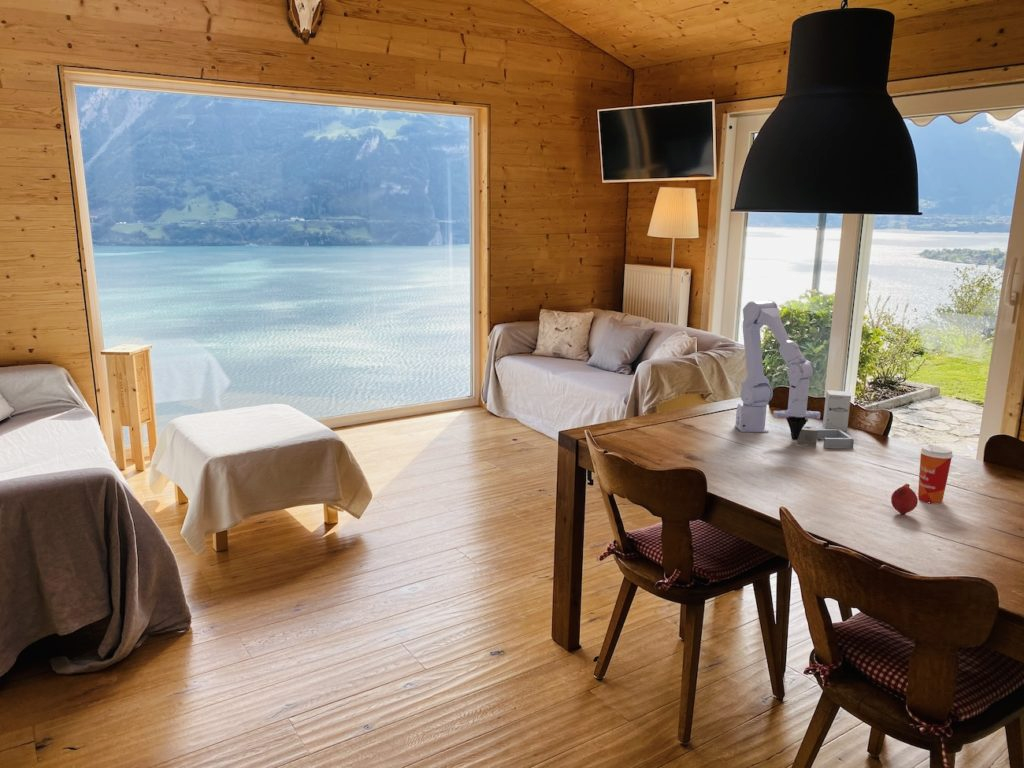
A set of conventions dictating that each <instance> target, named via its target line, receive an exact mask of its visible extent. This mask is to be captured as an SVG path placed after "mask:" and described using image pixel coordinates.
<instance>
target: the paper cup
mask: <svg viewBox="0 0 1024 768" xmlns="http://www.w3.org/2000/svg"><path fill="white" fill-rule="evenodd" d="M919 453H920V459H919V461H920V462H919V473H918V474H919V475H918V477H919V478H918V489H917V490H918V492H917V499H918V498H919V499H920V500H919V499H918V500H919V501H921V500H922V501H921V502H923V501H925V502H924V503H926V502H930V503H929V504H931V503H940V502H942V503H943V500H944V496H945V492H946V487H947V486H946V485H947V482H948V477H949V472H950V466H951V463H952V458H953V457H954V454H953V450H952V449H951V448H949V447H946V446H943V445H936V444H935V445H934V444H932V445H931V444H929V445H928V444H927V445H925V444H924V445H922V446H921V449H920V450H919ZM940 504H941V503H940Z"/></svg>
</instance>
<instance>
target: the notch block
mask: <svg viewBox="0 0 1024 768" xmlns="http://www.w3.org/2000/svg"><path fill="white" fill-rule="evenodd" d="M816 429H817V430H818V433H817V440H819V439H820V440H821V439H823V449H853V448H854V444H855V443H854V442H855V438H853V437H851V436H850V435H849V434H847V433H846V432H845V431H842V430H840V429H825V428H821V429H820V428H816Z"/></svg>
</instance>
